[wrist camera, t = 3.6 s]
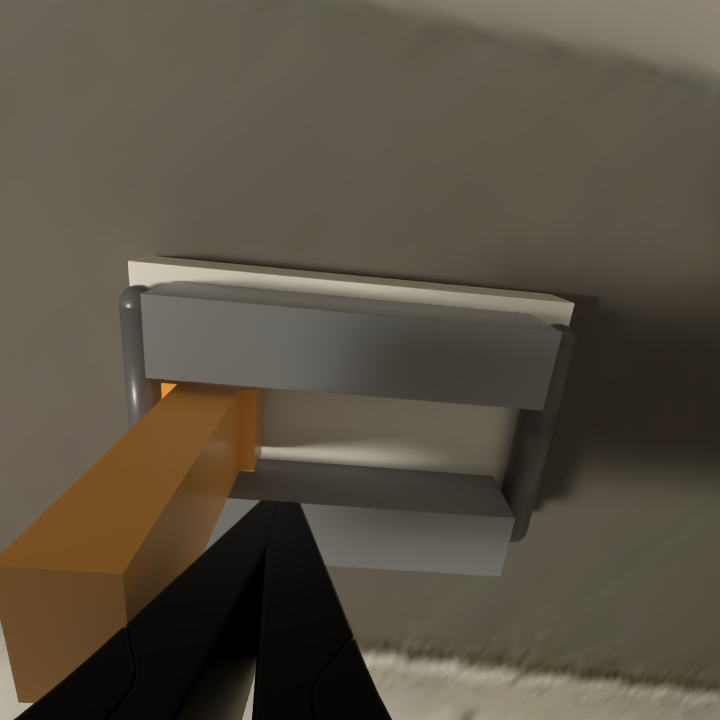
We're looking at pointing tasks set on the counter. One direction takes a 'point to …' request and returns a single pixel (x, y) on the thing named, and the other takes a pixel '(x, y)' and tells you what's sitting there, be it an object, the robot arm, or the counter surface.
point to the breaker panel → (366, 400)
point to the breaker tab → (124, 529)
